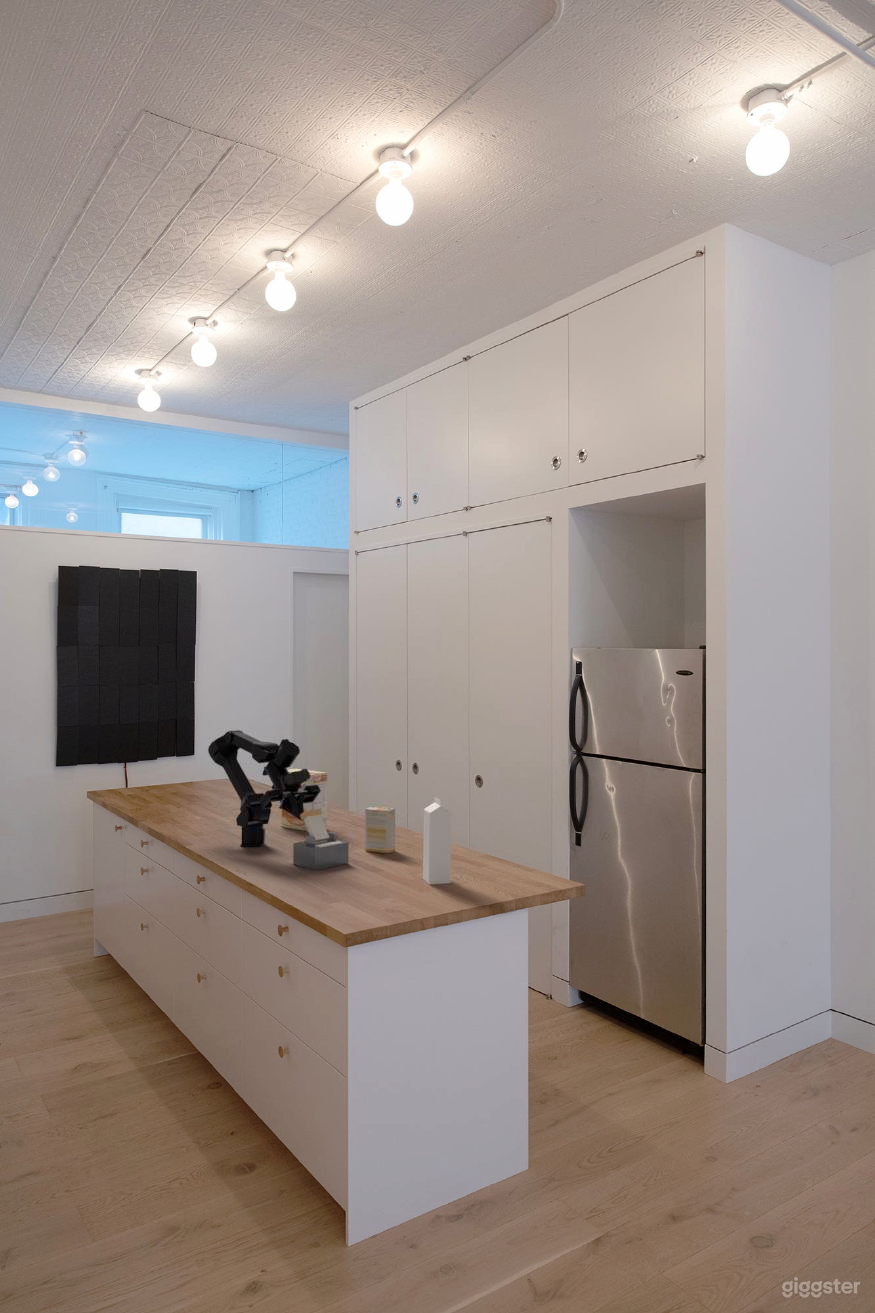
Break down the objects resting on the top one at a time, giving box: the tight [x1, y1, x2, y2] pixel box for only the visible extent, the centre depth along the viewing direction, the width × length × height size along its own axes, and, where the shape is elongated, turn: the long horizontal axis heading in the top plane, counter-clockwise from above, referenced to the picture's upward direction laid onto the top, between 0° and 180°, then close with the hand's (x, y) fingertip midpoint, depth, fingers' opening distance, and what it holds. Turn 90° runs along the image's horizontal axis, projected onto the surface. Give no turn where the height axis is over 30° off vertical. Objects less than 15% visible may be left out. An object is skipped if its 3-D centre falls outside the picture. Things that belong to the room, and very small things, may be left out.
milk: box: [422, 796, 452, 886], centre depth 235 cm, size 6×6×22 cm
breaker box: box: [292, 831, 350, 871], centre depth 252 cm, size 10×12×8 cm
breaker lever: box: [300, 809, 329, 842], centre depth 254 cm, size 2×6×9 cm
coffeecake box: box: [280, 768, 328, 832], centre depth 302 cm, size 15×7×20 cm, turn 55°
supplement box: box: [364, 806, 396, 854], centre depth 269 cm, size 8×5×13 cm, turn 65°
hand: (302, 819), depth 258 cm, fingers closed
